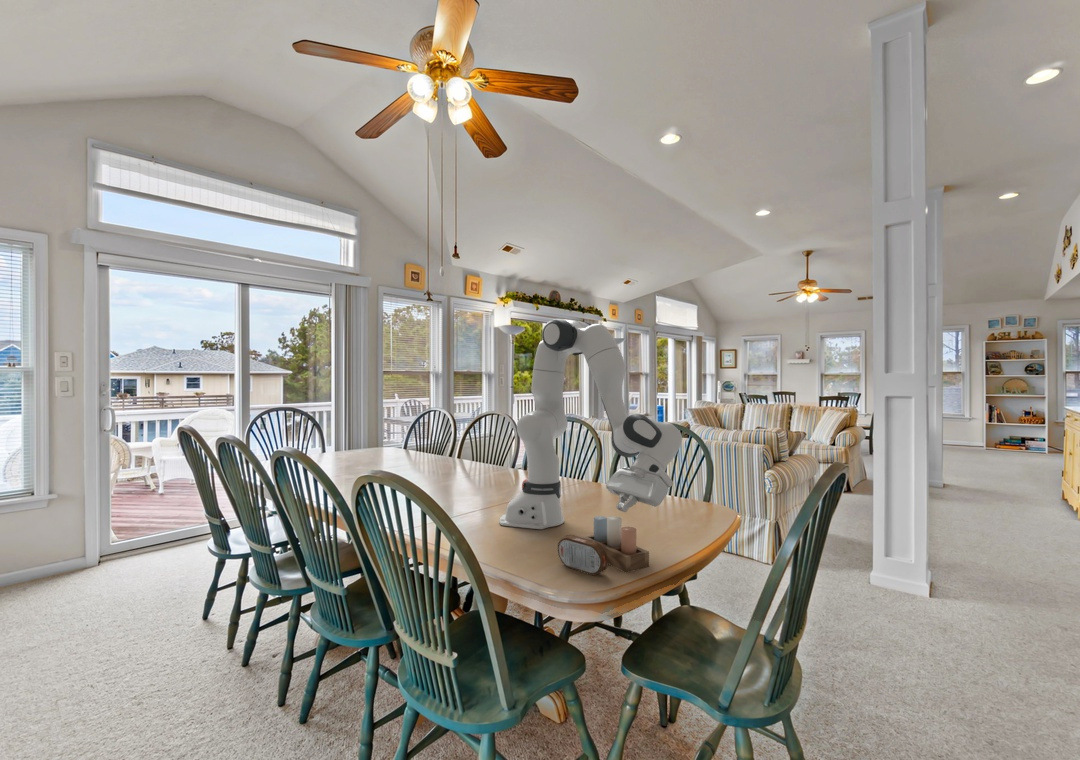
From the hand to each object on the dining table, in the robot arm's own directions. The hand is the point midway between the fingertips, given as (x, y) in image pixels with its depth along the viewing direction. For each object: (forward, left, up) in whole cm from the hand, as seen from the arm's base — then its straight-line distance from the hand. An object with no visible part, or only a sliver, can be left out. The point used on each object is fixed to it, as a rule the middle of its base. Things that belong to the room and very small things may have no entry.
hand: (620, 509), depth 142 cm
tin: (-10, -11, -14) cm, 20 cm away
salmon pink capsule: (+2, -6, -11) cm, 13 cm away
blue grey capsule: (-6, +3, -11) cm, 13 cm away
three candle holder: (-2, -1, -13) cm, 13 cm away
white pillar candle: (-2, -1, -10) cm, 10 cm away
